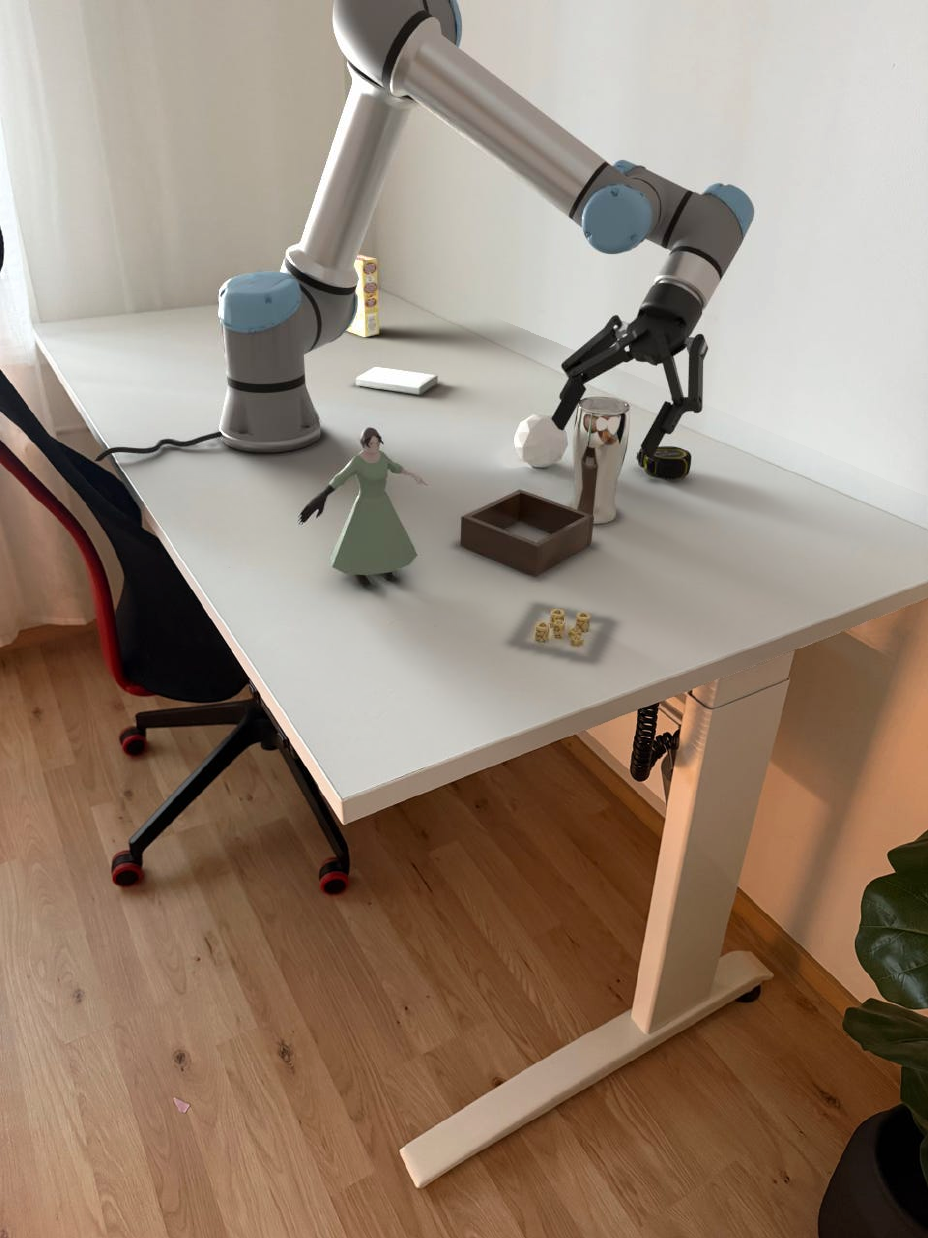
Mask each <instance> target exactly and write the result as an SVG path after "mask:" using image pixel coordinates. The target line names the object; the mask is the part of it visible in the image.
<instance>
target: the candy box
mask: <svg viewBox="0 0 928 1238" xmlns="http://www.w3.org/2000/svg"><path fill="white" fill-rule="evenodd" d="M354 267H355V269H356V271H357V273H358V275H359V282H358V285H357V287H356V290H355V291H356V294H357V295H358V310H357V314H356V317H355V319H354V321H353V323H352V325H351V326H350V327H349V329H348V330H347V331H346V332H349V333H352V334H354V335H355V334H356V335H358V336H360V337H363V338H367V337H371V336H377V335H379V334H380V315H379V314H380V313H379V284H378V283H379V282H378V281H379V279H378V276H379V275H378V258H375V257H371V256H367V255H363V254H359V253H358V256H357V259H356V261H355V264H354Z"/></svg>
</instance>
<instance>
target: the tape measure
mask: <svg viewBox="0 0 928 1238" xmlns="http://www.w3.org/2000/svg"><path fill="white" fill-rule="evenodd" d="M635 458H636V461H637V464H638V466H639V467H640V468H642V469H644V472H645V473H646V474H648V475H649V476H651V477H654V478H656V479H663V480H666V481H667V480H677V479H679V480H680V479H683V478H685V477H687V476H688V475H689V474H690V471H691V466H692V454H691V452H690V451H688V450H686V449H684V448H681V447H679V446H672V445H663V446H660V445H659V446H658V448H657V450H656V452H655V453H654V455H653V457H652V458H649V457H647V456H646V455H645V453H644V451H643V450H642V448H641V447H640V448H639V450H638V452H636V457H635Z"/></svg>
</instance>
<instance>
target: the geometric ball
mask: <svg viewBox="0 0 928 1238" xmlns="http://www.w3.org/2000/svg"><path fill="white" fill-rule="evenodd" d="M552 416H553V414H552V415H551V414H543V413H534V414H532V415H530V416H528V417H527V418H525V419H524V420H522V421H521V422H520V423H519V426H518V428H517V430H516V433H515V435H514V448H515V450H516V453H517V455H518V456H519V457H520V459H521V460H522V461H523V462H525V463H526V464H527V465H529V466H531V467H534V468H548V467H551V466H552V465H554V464H555V463H557V462H559V461H561V460H562V458H563V456H564V454H565V452H566V450H567V448H568V445H569V442H568V434H567V430H566V427H565V428H564V430H563V431H562V430H559V429H558V428H557V426H556V425H555V424H554V422H553V421H552V419H551V418H552Z"/></svg>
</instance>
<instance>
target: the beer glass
mask: <svg viewBox="0 0 928 1238" xmlns="http://www.w3.org/2000/svg"><path fill="white" fill-rule="evenodd" d="M576 408H577V409H576V414H575V420H574V425H573V427H574V428H573V434H572V457H573V458H572V459H573V468H574V469H573V470H574V491H573V498H572V500H571V504H570V507H571V508H574V509H576V510H579V511H582V512H585V513H588V514H590V515H593V516H594V523H593V525H602V524H607V523H609V522H612V521H614V520H615V519H616V516H617V511H616V510H617V509H616V490H617V485H618V481H619V478H620V474H621V472H622V469H623V464H624V462H625V458H626V453H627V450H628V444H629V437H630V423H631V405H630V403H628V401H625V400H623V399H619V398H615V397H609V396H590V397H589V396H587V397H585V398H581V400H580V401H579V402H578V405H577V407H576Z"/></svg>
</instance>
